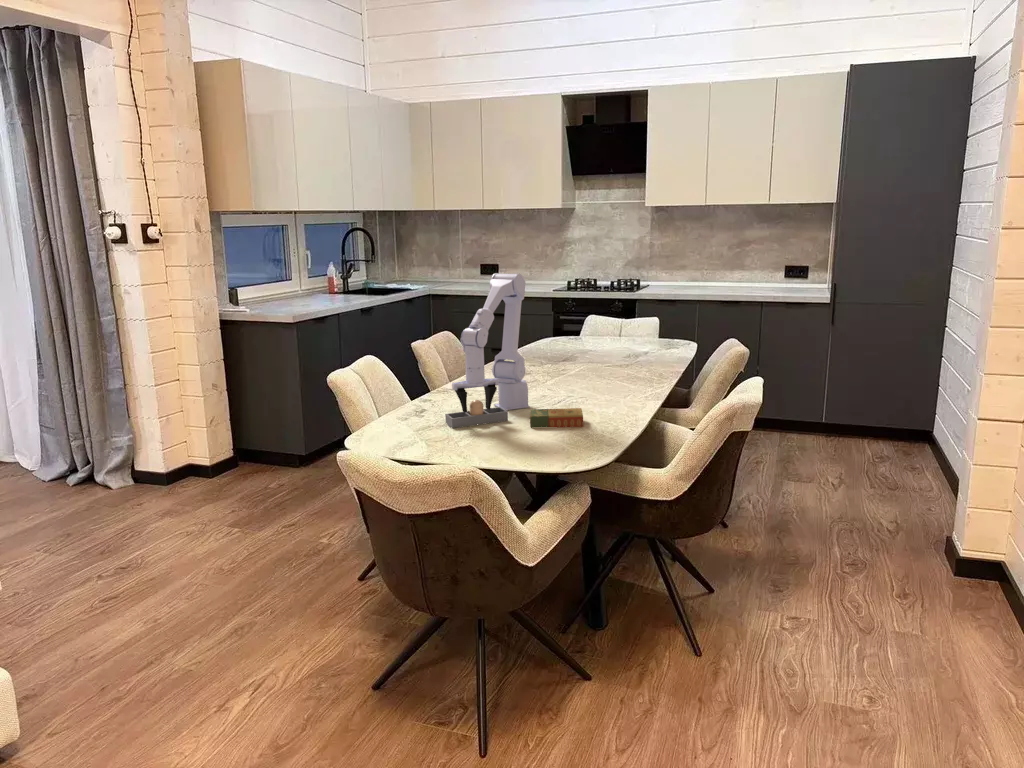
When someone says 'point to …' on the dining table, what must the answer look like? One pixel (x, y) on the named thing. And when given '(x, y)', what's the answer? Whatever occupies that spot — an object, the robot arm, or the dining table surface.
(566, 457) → the dining table surface
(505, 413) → the egg holder
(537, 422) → the carton
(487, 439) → the dining table surface
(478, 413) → the egg
